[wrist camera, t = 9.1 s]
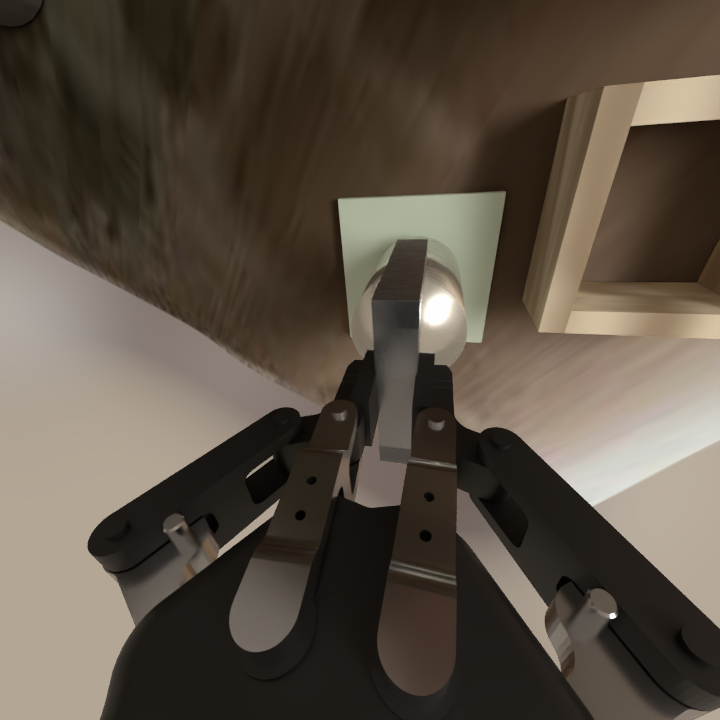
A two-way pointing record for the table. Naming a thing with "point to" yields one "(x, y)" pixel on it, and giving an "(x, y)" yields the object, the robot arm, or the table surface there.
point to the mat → (430, 219)
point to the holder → (584, 211)
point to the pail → (408, 329)
